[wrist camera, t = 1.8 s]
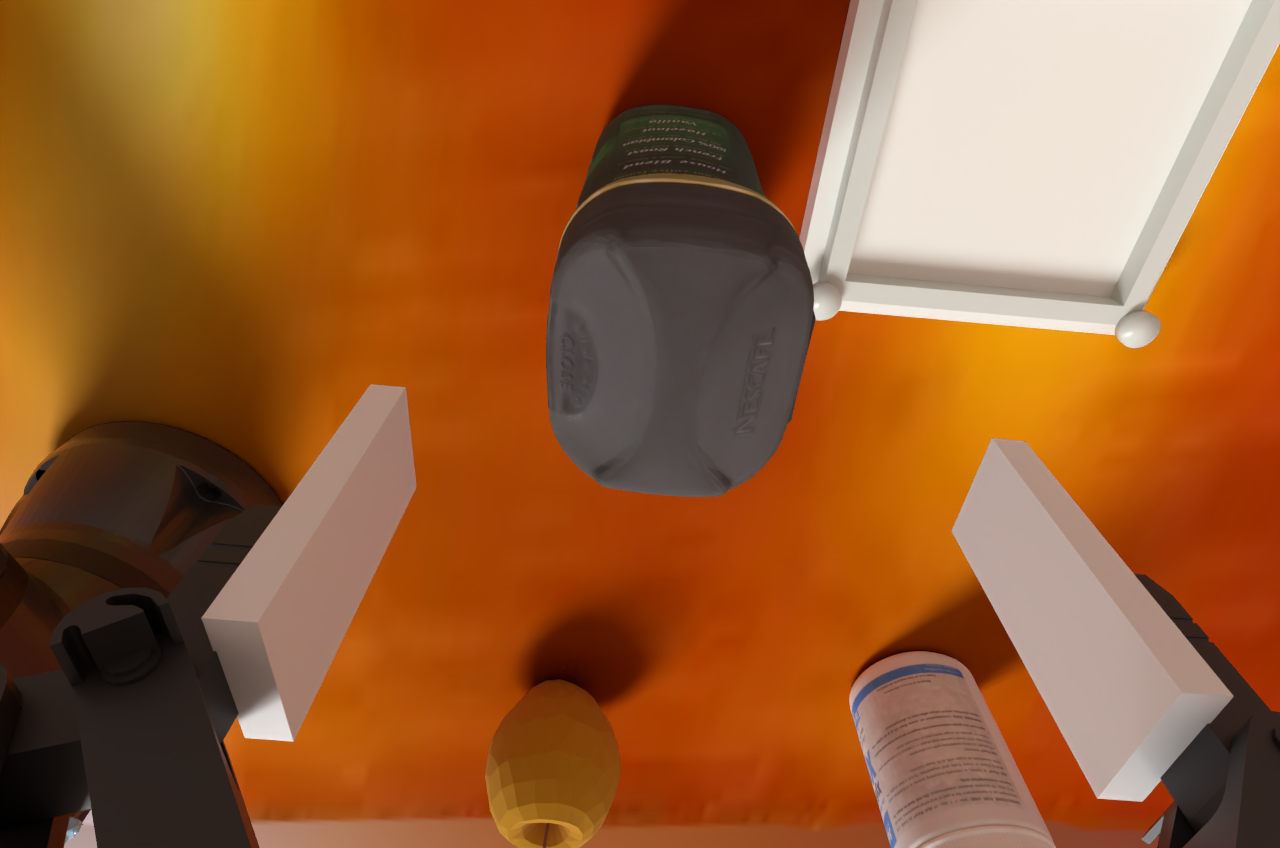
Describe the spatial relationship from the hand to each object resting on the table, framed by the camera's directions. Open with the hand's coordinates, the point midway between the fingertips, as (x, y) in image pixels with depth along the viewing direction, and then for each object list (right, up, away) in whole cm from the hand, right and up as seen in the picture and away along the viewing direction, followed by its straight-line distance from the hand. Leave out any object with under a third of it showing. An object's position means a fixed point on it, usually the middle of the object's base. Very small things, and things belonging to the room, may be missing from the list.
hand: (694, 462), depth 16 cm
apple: (-7, -21, +39) cm, 45 cm away
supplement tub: (+20, -20, +38) cm, 47 cm away
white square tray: (+16, +15, +17) cm, 28 cm away
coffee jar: (0, +12, +19) cm, 22 cm away
